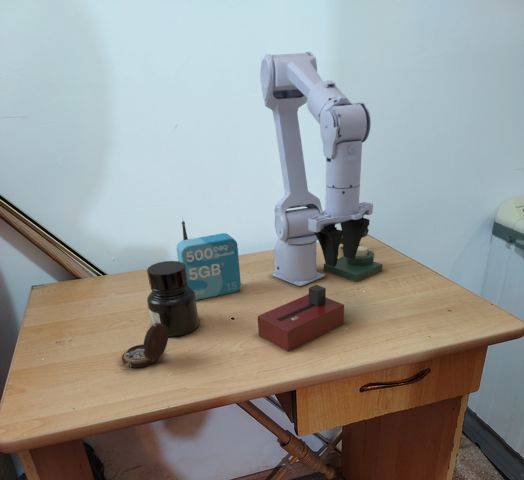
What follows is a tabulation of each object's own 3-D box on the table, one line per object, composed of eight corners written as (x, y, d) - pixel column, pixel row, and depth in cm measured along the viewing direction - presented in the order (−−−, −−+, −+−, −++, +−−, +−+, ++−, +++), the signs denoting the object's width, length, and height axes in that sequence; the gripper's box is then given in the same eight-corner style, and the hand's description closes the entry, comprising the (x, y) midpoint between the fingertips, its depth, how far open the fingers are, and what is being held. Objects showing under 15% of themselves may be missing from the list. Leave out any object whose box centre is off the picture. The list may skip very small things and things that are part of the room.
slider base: (258, 335, 85) (257, 315, 83) (313, 310, 93) (313, 291, 91) (288, 351, 80) (287, 330, 78) (343, 323, 87) (344, 304, 85)
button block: (323, 270, 110) (323, 256, 109) (351, 259, 116) (352, 245, 114) (356, 282, 104) (357, 267, 102) (385, 269, 109) (386, 255, 107)
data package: (188, 302, 99) (180, 247, 93) (183, 294, 103) (175, 241, 97) (241, 290, 103) (237, 237, 97) (234, 283, 107) (230, 231, 100)
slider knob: (308, 302, 87) (308, 287, 85) (316, 299, 88) (316, 284, 86) (317, 306, 85) (318, 291, 84) (325, 303, 86) (325, 288, 85)
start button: (350, 255, 109) (350, 248, 108) (359, 252, 111) (359, 244, 110) (361, 258, 107) (361, 251, 106) (370, 255, 109) (370, 247, 108)
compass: (136, 347, 84) (128, 310, 80) (174, 354, 81) (167, 316, 78) (107, 370, 78) (97, 332, 74) (147, 379, 75) (138, 340, 71)
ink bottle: (159, 315, 95) (148, 258, 88) (202, 314, 94) (194, 257, 88) (147, 339, 86) (134, 279, 80) (195, 338, 86) (185, 277, 80)
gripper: (330, 196, 73) (329, 278, 80) (389, 180, 81) (382, 256, 88) (299, 190, 78) (300, 268, 85) (357, 175, 85) (353, 247, 92)
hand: (340, 261), depth 86 cm, fingers open, 4 cm apart
